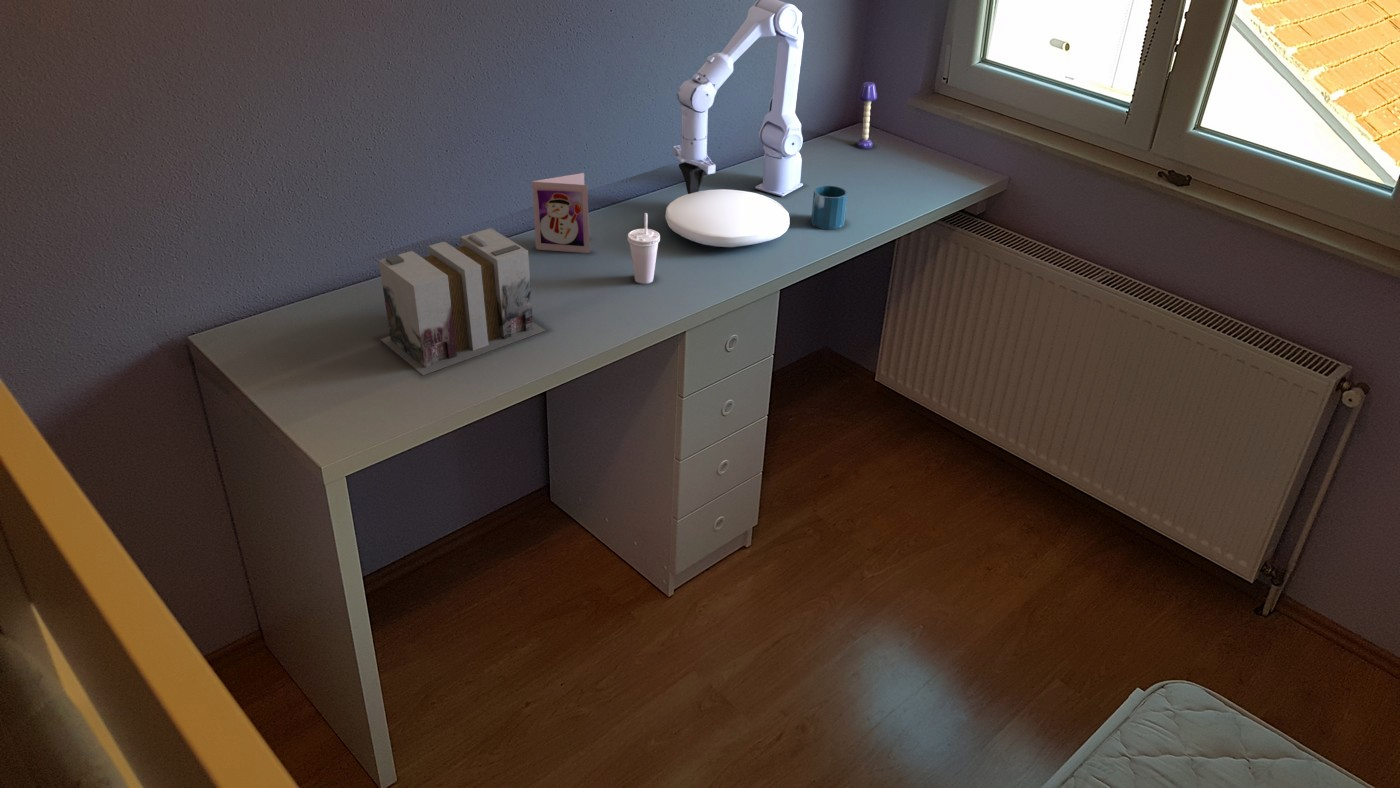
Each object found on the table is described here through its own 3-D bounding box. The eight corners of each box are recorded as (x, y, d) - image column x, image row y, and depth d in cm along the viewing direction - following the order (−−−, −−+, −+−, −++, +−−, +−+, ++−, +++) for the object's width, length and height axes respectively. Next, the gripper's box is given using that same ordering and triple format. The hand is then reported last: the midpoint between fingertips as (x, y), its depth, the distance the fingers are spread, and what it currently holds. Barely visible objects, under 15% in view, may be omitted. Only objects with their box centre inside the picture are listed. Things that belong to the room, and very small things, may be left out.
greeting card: (535, 250, 224) (530, 183, 216) (543, 236, 231) (539, 169, 222) (588, 254, 223) (586, 186, 215) (595, 240, 230) (593, 173, 222)
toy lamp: (856, 149, 282) (862, 85, 273) (852, 143, 285) (858, 80, 276) (874, 148, 282) (881, 85, 273) (870, 142, 286) (877, 80, 277)
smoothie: (666, 280, 214) (667, 215, 207) (642, 289, 210) (641, 223, 203) (645, 269, 218) (645, 205, 211) (621, 278, 214) (620, 213, 207)
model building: (380, 339, 192) (366, 256, 183) (500, 299, 206) (493, 220, 197) (423, 375, 182) (411, 290, 173) (546, 330, 196) (541, 249, 187)
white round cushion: (717, 176, 249) (814, 206, 236) (715, 203, 252) (810, 234, 239) (640, 199, 229) (742, 233, 216) (638, 228, 232) (738, 263, 219)
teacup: (822, 214, 244) (825, 182, 240) (850, 222, 241) (853, 190, 237) (805, 223, 239) (807, 192, 235) (833, 232, 236) (836, 200, 232)
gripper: (661, 129, 239) (661, 187, 247) (697, 149, 229) (695, 208, 237) (688, 124, 243) (687, 181, 250) (724, 143, 233) (721, 202, 240)
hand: (693, 194), depth 244 cm, fingers closed
